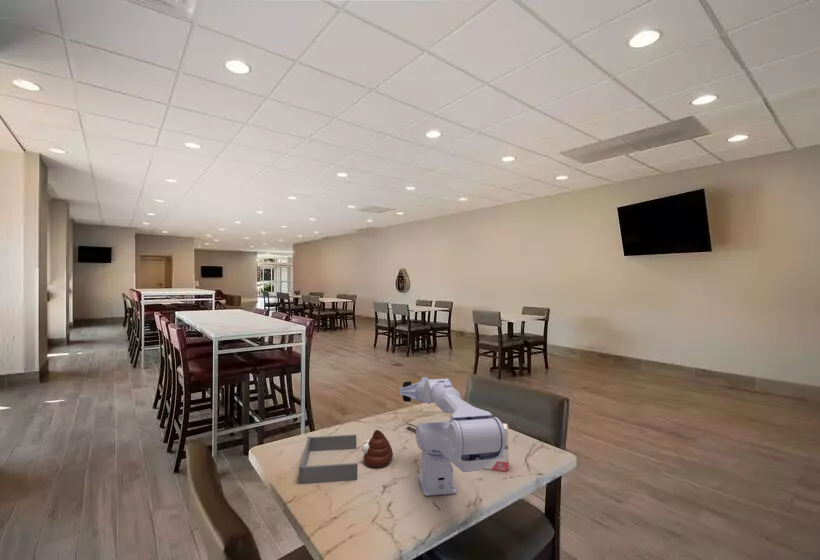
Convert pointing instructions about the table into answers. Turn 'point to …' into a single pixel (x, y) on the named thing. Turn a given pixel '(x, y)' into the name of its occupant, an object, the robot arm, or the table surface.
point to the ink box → (501, 462)
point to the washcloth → (427, 421)
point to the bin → (327, 471)
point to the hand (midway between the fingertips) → (418, 392)
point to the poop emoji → (377, 451)
